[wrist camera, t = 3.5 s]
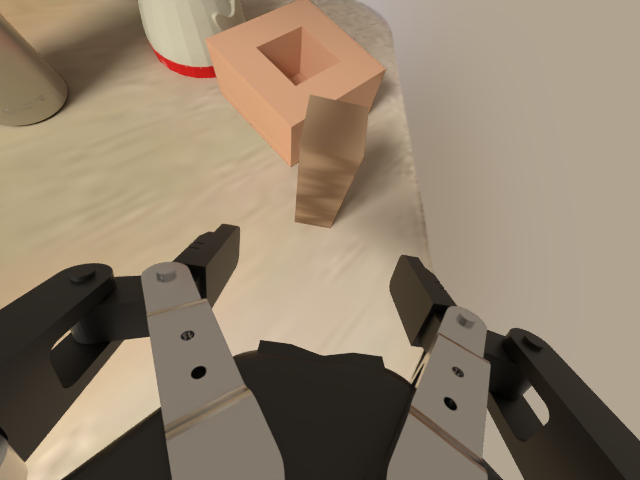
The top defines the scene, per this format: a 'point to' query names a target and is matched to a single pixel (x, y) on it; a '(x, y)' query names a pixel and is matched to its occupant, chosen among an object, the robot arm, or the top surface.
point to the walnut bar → (328, 158)
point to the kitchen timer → (187, 31)
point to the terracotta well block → (290, 70)
